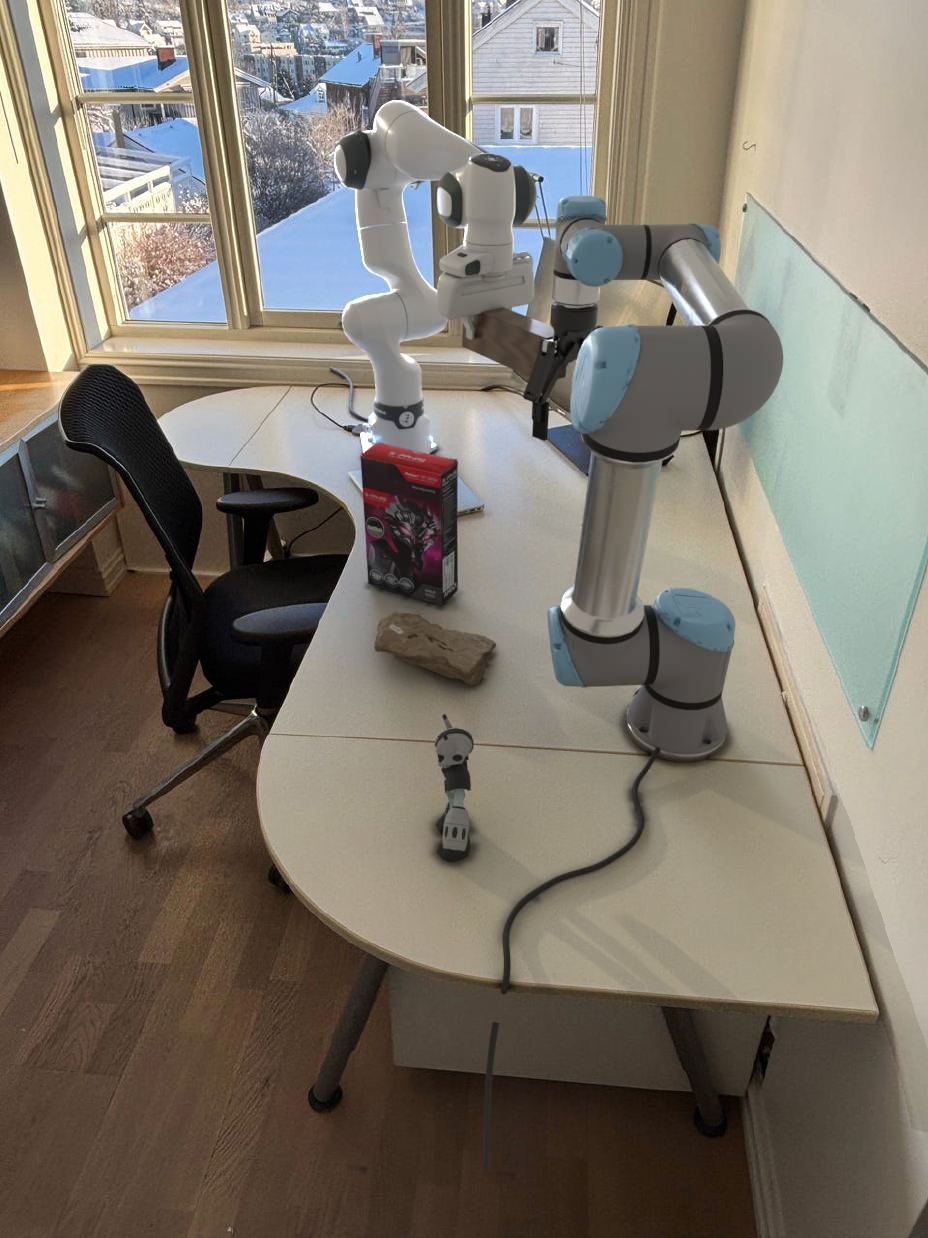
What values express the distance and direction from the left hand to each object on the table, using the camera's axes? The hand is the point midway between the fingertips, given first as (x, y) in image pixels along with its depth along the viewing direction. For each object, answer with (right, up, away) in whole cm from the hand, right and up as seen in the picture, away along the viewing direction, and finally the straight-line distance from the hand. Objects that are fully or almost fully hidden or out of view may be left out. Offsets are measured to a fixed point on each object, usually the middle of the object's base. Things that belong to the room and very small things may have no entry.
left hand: (485, 335), depth 171 cm
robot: (-5, -82, -47) cm, 95 cm away
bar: (+5, -6, -4) cm, 8 cm away
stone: (-10, -60, -13) cm, 62 cm away
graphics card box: (-14, -47, +6) cm, 49 cm away
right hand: (+14, -20, -12) cm, 27 cm away
